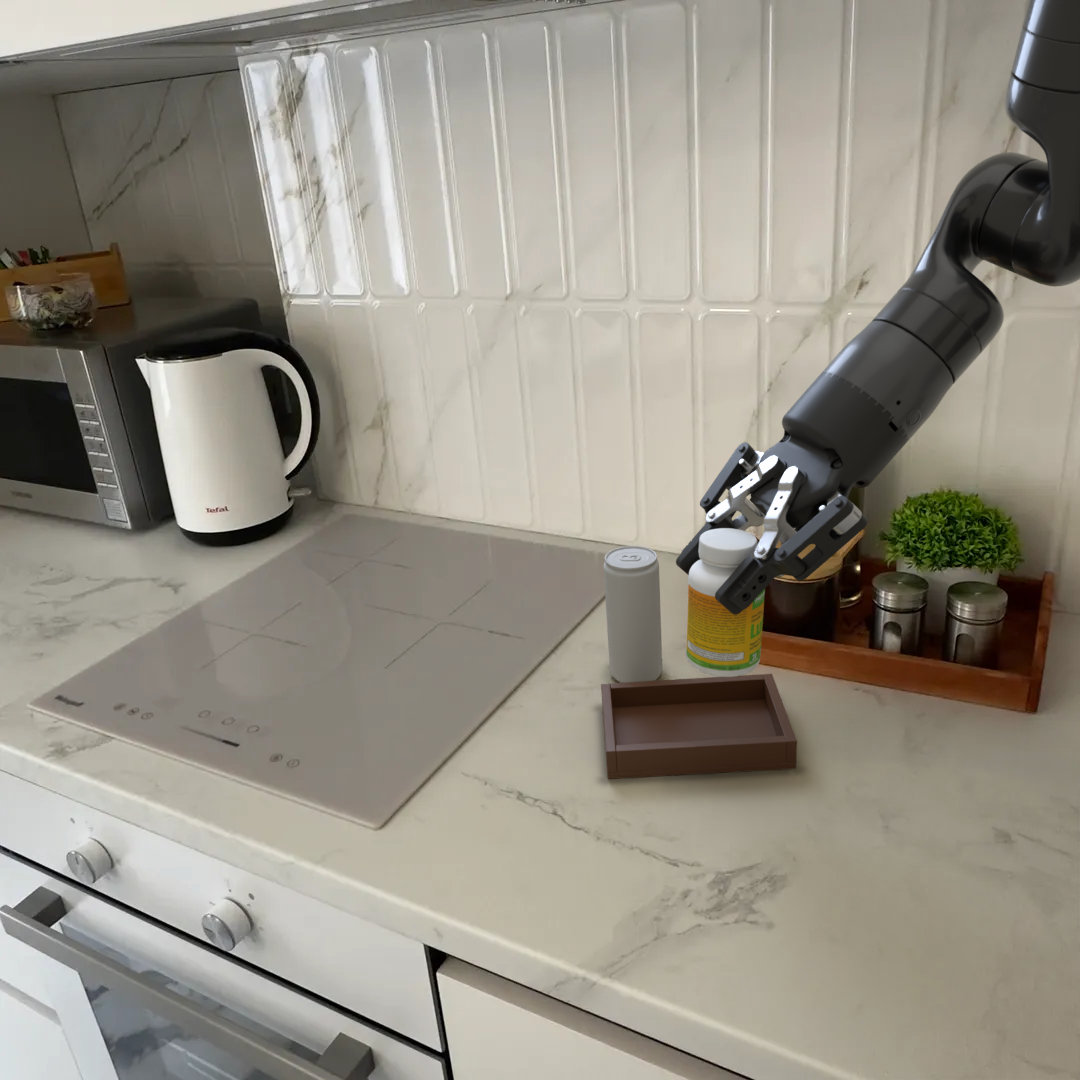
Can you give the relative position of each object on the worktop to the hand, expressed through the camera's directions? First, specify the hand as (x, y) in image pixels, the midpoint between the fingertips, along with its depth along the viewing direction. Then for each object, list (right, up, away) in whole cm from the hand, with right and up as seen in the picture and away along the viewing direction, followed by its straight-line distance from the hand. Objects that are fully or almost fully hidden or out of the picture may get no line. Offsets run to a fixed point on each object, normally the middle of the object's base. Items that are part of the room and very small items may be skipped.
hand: (704, 588), depth 69 cm
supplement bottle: (+2, -6, +3) cm, 7 cm away
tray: (+1, -13, +12) cm, 17 cm away
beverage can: (-3, -9, +21) cm, 23 cm away
